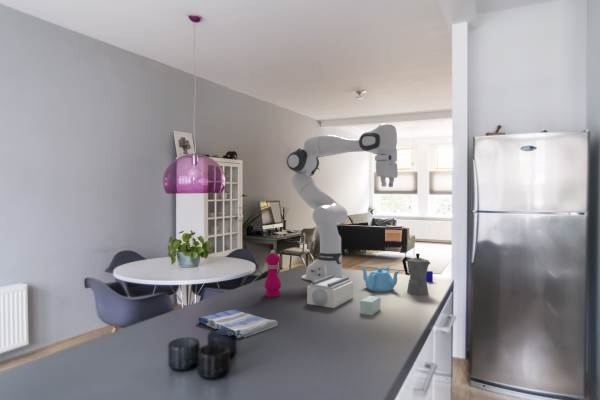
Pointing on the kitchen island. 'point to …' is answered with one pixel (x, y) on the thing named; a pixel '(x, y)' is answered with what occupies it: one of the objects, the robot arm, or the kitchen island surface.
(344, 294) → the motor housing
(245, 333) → the dish towel
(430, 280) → the cable clip
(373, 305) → the pale green block
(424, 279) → the coffeepot
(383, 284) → the teapot
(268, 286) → the pepper mill
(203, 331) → the kitchen island surface
